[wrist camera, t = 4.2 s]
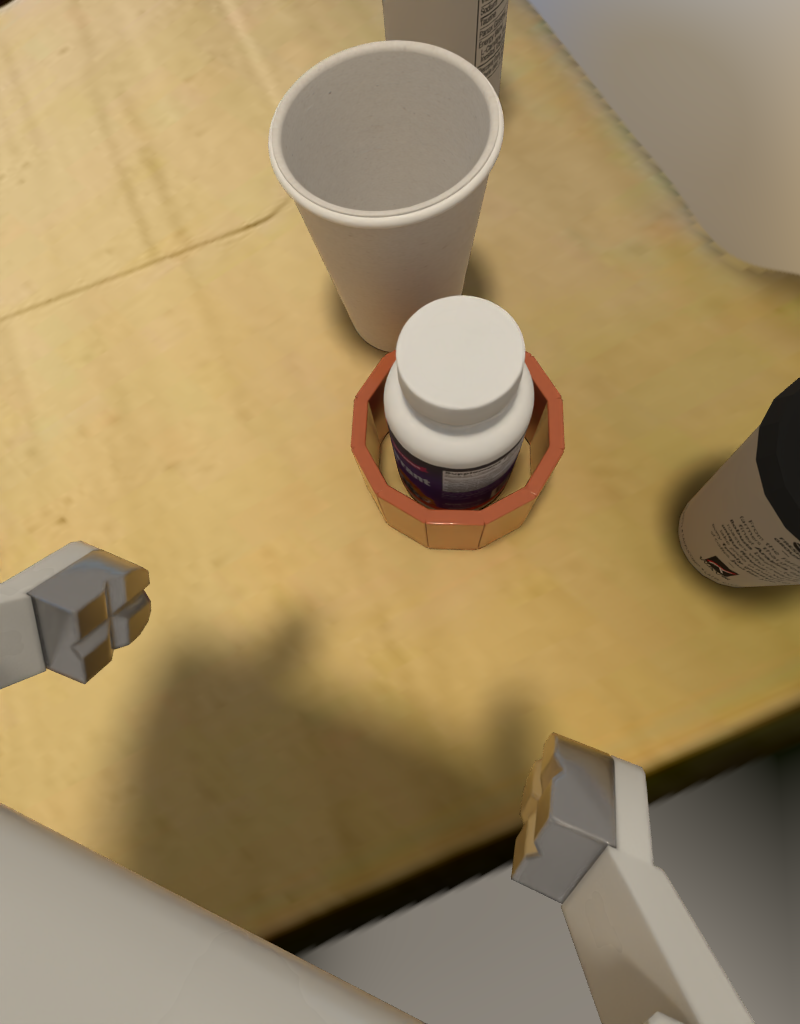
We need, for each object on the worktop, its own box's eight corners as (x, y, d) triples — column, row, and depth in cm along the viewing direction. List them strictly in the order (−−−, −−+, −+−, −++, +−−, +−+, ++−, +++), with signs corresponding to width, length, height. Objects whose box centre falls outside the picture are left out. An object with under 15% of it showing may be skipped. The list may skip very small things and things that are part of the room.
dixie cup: (494, 249, 29) (520, 43, 19) (469, 387, 27) (484, 232, 17) (344, 233, 30) (298, 30, 20) (308, 364, 28) (238, 206, 18)
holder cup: (578, 495, 25) (606, 460, 21) (418, 581, 24) (412, 563, 20) (486, 357, 27) (494, 299, 23) (338, 433, 27) (317, 388, 22)
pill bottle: (383, 432, 27) (351, 305, 17) (487, 397, 27) (511, 252, 17) (418, 533, 25) (404, 454, 16) (528, 496, 25) (579, 395, 16)
